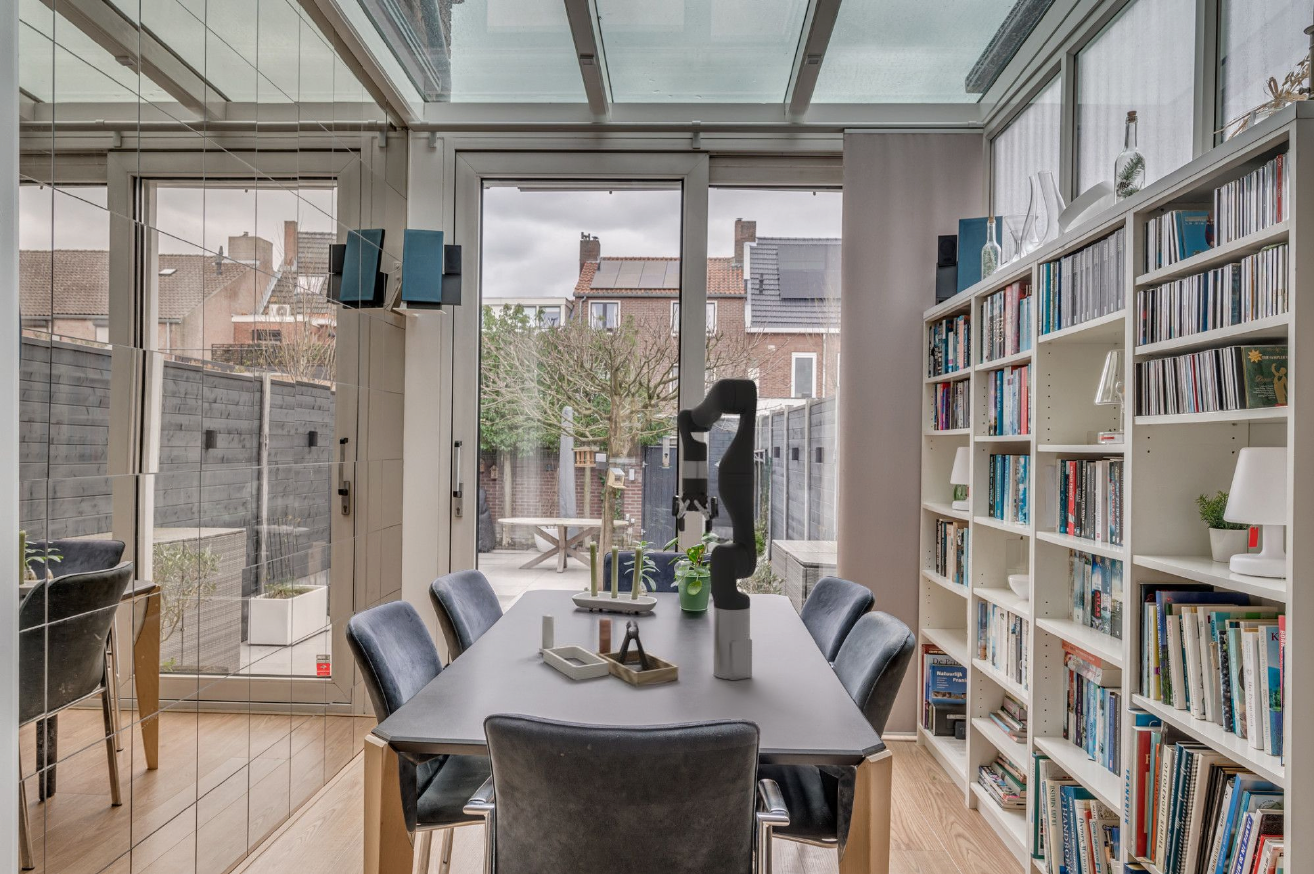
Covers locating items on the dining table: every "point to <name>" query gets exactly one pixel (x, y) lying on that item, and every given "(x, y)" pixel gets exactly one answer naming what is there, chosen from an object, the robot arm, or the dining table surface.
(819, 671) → the dining table surface
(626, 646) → the dark metal pliers
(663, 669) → the oak frame
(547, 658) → the white frame
